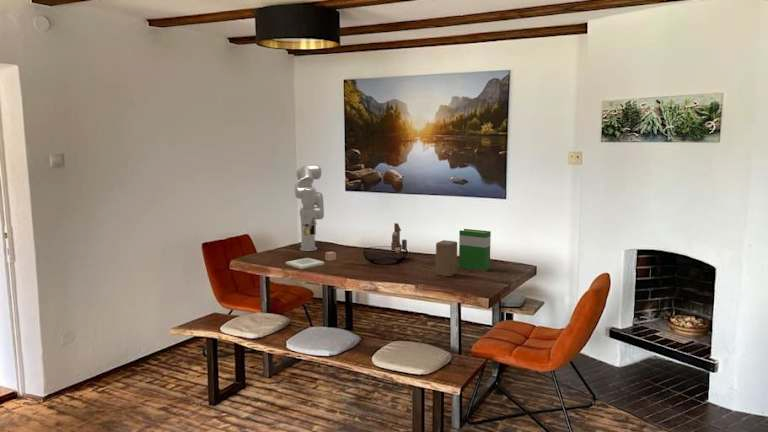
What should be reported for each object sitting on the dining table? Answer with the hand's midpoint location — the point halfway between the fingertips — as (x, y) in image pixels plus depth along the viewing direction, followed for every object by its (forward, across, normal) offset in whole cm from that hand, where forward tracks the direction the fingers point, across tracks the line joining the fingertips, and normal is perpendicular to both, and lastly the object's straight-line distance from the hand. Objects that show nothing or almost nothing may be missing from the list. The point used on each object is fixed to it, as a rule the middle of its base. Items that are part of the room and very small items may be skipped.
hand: (309, 233), depth 374 cm
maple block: (+1, 0, 0) cm, 1 cm away
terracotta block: (+18, +8, +12) cm, 23 cm away
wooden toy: (+19, +40, +44) cm, 62 cm away
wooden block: (+20, +88, +38) cm, 98 cm away
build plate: (+19, +6, -8) cm, 21 cm away
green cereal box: (+19, +90, +62) cm, 111 cm away
